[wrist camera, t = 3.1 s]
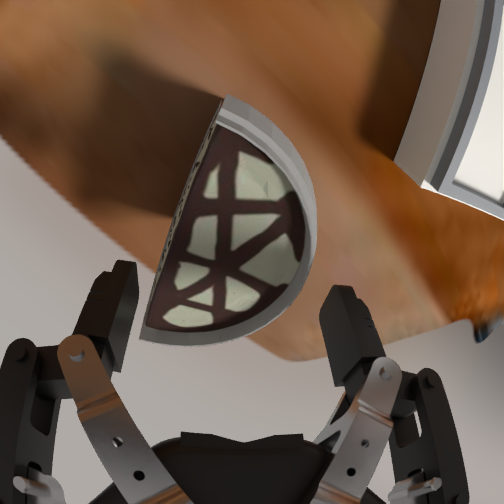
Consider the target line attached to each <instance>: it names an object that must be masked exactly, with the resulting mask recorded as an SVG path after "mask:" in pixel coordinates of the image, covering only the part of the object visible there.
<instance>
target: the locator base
mask: <svg viewBox="0 0 504 504" xmlns="http://www.w3.org/2000/svg"><path fill="white" fill-rule="evenodd" d="M393 162H394V163H395V164H396V165H397V166H399V167H400V168H401V169H402V170H403V171H404V172H405V173H406V174H407V175H408V176H409V177H410V178H412V179H413V180H414V181H415V182H416V183H417V184H418V185H419V186H420V187H421V188H424V189H427V190H430V191H433V192H436V193H438V194H441V195H444V196H446V197H449V198H452V199H454V200H457V201H459V202H462V203H464V204H467V205H469V206H472V207H474V208H477V209H479V210H481V211H484V212H486V213H488V214H490V215H493V216H495V217H497V218H499V219H501V220H504V0H441V3H440V8H439V13H438V18H437V23H436V27H435V31H434V36H433V40H432V44H431V48H430V52H429V56H428V59H427V63H426V67H425V70H424V74H423V77H422V80H421V84H420V87H419V90H418V93H417V97H416V100H415V103H414V106H413V109H412V112H411V115H410V118H409V121H408V123H407V126H406V129H405V132H404V135H403V137H402V140H401V143H400V145H399V148H398V151H397V153H396V156H395V159H394V161H393Z"/></svg>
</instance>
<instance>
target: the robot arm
mask: <svg viewBox="0 0 504 504" xmlns="http://www.w3.org/2000/svg"><path fill="white" fill-rule="evenodd" d="M138 299H139V285H138V275H137V265H136V262H131V261H124V260H117V261H116V263H115V265H114V268H113V270H112V272H106V271H104V272H102V273H101V274H100V275H99V276H98V277H97V278H96V279H95V281H94V283H93V285H92V287H91V290H90V292H89V294H88V297H87V301H86V302H85V304H84V306H83V309H82V311H81V314H80V316H79V319H78V321H77V324H76V326H75V329H74V331H73V334H72V335H71V336H68V337H66V338H65V339H64V340H63V341H62V342H61V343H60V344H59V345H55V346H44V347H36V346H35V345H34V343H33V342H32V341H30V340H29V339H26V338H20V339H17V340H15V341H13V342H12V343H11V344H10V345H9V346H8V348H7V350H6V353H5V356H4V359H3V362H2V365H1V368H0V504H66V502H65V499H64V493H63V490H62V487H61V485H60V484H59V483H58V481H57V480H56V479H55V478H53V477H52V476H51V474H52V461H53V452H54V443H55V435H56V428H57V422H58V415H59V410H60V404H61V399H70V398H73V399H74V401H75V404H76V406H77V409H78V410H77V414H78V417H79V420H80V422H81V424H82V426H83V428H84V430H85V432H86V434H87V436H88V438H89V440H90V442H91V444H92V446H93V448H94V449H95V451H96V453H97V455H98V457H99V458H100V460H101V462H102V464H103V465H104V467H105V469H106V470H107V472H108V474H109V475H110V477H111V478H112V480H113V483H112V484H111V485H109V486H108V487H107V488H106V489H105V490H104V491H103V492H102V493H101V494H100V495H98V496H97V497H96V498H95V499H94V500H92V501H91V502H90V503H89V504H386V503H385V502H384V501H383V500H382V499H380V498H379V497H378V496H377V495H376V494H375V493H373V492H372V491H371V490H370V489H369V488H368V487H367V486H368V484H369V482H370V480H371V478H372V476H373V474H374V472H375V469H376V467H377V465H378V463H379V460H380V458H381V456H382V453H383V451H384V448H385V446H386V443H387V441H388V440H389V445H390V451H391V457H392V464H393V470H394V477H395V486H394V487H393V489H392V491H391V492H390V493H389V494H388V500H389V501H390V504H469V490H468V483H467V478H466V472H465V467H464V462H463V457H462V452H461V448H460V444H459V439H458V435H457V431H456V427H455V424H454V420H453V416H452V413H451V409H450V406H449V403H448V399H447V396H446V393H445V390H444V388H443V384H442V381H441V378H440V377H439V375H438V374H437V373H436V372H435V371H434V370H432V369H430V368H424V369H422V370H421V371H420V372H419V373H418V374H414V373H409V372H405V371H401V369H400V367H399V365H398V364H397V363H396V362H395V361H394V360H392V359H390V358H388V357H386V354H385V352H384V349H383V346H382V343H381V340H380V338H379V335H378V332H377V330H376V328H375V325H374V322H373V320H372V317H371V314H370V312H369V309H368V307H367V306H366V305H365V304H364V302H363V301H362V300H361V299H357V297H356V294H355V292H354V289H353V288H352V287H351V286H345V285H333V286H332V288H331V290H330V292H329V294H328V296H327V298H326V300H325V301H324V303H323V305H322V307H321V309H320V314H319V321H320V326H321V330H322V334H323V338H324V342H325V346H326V350H327V354H328V359H329V363H330V367H331V372H332V376H333V380H334V385H335V387H339V386H345V392H344V393H343V395H342V397H341V399H340V401H339V402H338V404H337V406H336V408H335V410H334V412H333V414H332V415H331V417H330V419H329V421H328V423H327V425H326V426H325V428H324V429H323V430H322V431H321V432H320V434H319V435H318V436H317V437H316V439H315V440H314V442H310V441H307V440H304V439H303V434H288V435H274V436H270V437H266V438H262V439H258V440H254V441H250V442H245V443H244V442H238V441H235V440H231V439H227V438H223V437H220V436H216V435H213V434H202V433H189V432H181V437H179V438H172V439H168V440H165V441H162V442H160V443H158V444H156V445H154V446H153V447H151V448H150V446H149V445H148V443H147V442H146V440H145V439H144V437H143V435H142V434H141V432H140V431H139V429H138V428H137V426H136V424H135V423H134V421H133V420H132V418H131V416H130V414H129V413H128V411H127V409H126V408H125V406H124V404H123V402H122V401H121V399H120V397H119V395H118V394H117V392H116V390H115V388H114V386H113V384H112V383H111V376H112V372H113V371H115V372H121V369H122V364H123V360H124V355H125V351H126V347H127V343H128V338H129V335H130V331H131V326H132V323H133V319H134V315H135V311H136V308H137V304H138ZM415 411H417V412H418V416H419V420H420V424H421V429H422V434H421V437H419V433H418V428H417V424H416V420H415V416H414V412H415Z"/></svg>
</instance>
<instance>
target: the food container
mask: <svg viewBox="0 0 504 504" xmlns="http://www.w3.org/2000/svg"><path fill="white" fill-rule="evenodd" d="M316 245H317V210H316V200H315V195H314V190H313V184H312V181H311V179H310V176H309V174H308V171H307V169H306V166H305V164H304V162H303V160H302V158H301V157H300V155H299V154H298V152H297V150H296V149H295V147H294V146H293V144H292V143H291V141H290V140H289V139H288V138H287V137H286V136H285V134H284V133H283V132H282V131H281V130H280V129H279V128H278V127H277V126H276V125H275V124H274V123H273V122H272V121H271V120H270V119H268V118H267V117H266V116H264V115H263V114H262V113H260V112H259V111H258V110H256V109H255V108H253V107H252V106H251V105H249V104H247V103H245V102H243V101H241V100H239V99H237V98H235V97H233V96H231V95H229V94H227V95H226V97H225V99H221V102H220V104H219V106H218V108H217V110H216V112H215V115H214V117H213V119H212V121H211V124H210V126H209V128H208V131H207V133H206V135H205V137H204V140H203V142H202V145H201V147H200V149H199V152H198V154H197V157H196V159H195V162H194V164H193V167H192V169H191V172H190V174H189V177H188V179H187V182H186V185H185V187H184V190H183V192H182V195H181V198H180V201H179V203H178V206H177V209H176V212H175V214H174V217H173V220H172V223H171V226H170V229H169V232H168V236H167V239H166V242H165V245H164V248H163V252H162V255H161V258H160V262H159V265H158V268H157V272H156V275H155V279H154V282H153V286H152V290H151V293H150V297H149V301H148V305H147V309H146V312H145V316H144V320H143V324H142V328H141V333H140V337H139V340H142V341H145V342H150V343H154V344H160V345H166V346H176V347H200V346H210V345H216V344H222V343H225V342H229V341H233V340H237V339H239V338H242V337H245V336H247V335H250V334H252V333H254V332H256V331H258V330H260V329H261V328H263V327H265V326H267V325H268V324H269V323H271V322H272V321H273V320H275V319H276V318H277V317H279V316H280V315H281V314H282V313H283V312H284V311H285V310H286V309H287V308H288V307H289V306H290V305H291V304H292V303H293V301H294V300H295V298H296V297H297V295H298V294H299V292H300V291H301V290H302V287H303V285H304V283H305V281H306V278H307V276H308V274H309V270H310V268H311V265H312V262H313V258H314V254H315V250H316Z"/></svg>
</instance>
